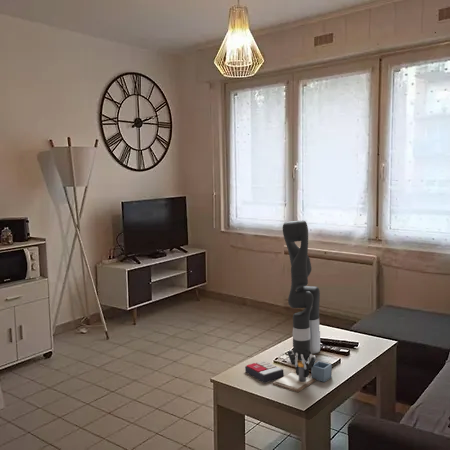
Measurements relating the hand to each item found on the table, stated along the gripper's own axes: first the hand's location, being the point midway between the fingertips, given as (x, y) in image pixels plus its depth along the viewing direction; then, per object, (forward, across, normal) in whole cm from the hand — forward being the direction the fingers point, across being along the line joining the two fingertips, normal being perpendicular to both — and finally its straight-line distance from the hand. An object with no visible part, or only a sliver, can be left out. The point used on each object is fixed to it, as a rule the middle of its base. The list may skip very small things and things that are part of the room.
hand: (302, 375), depth 215 cm
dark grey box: (+4, +19, +2) cm, 19 cm away
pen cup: (+3, -4, -9) cm, 10 cm away
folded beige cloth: (+3, +3, +2) cm, 5 cm away
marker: (+2, 0, 0) cm, 2 cm away
